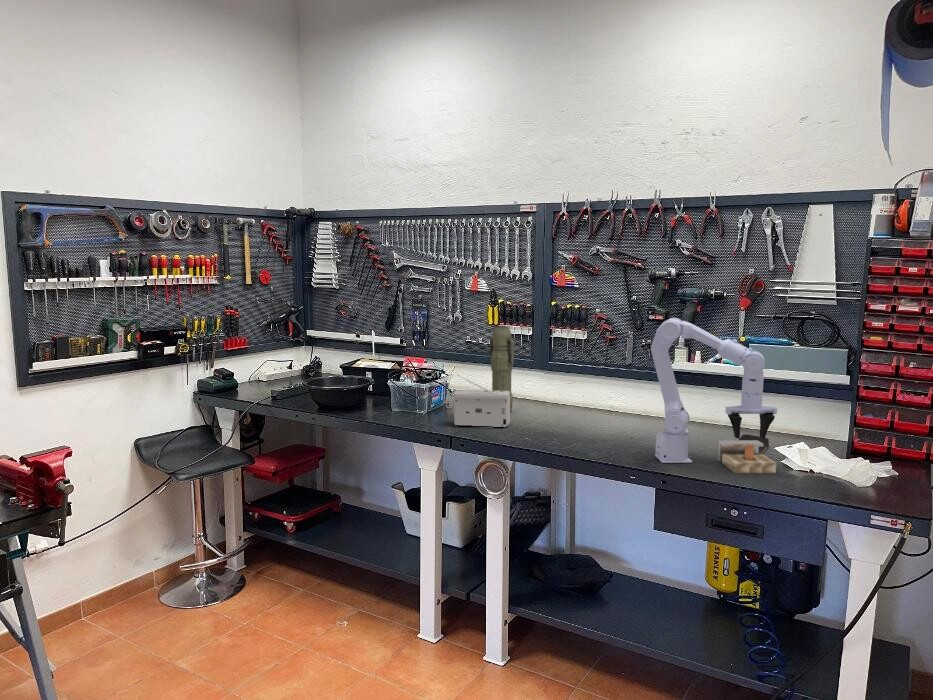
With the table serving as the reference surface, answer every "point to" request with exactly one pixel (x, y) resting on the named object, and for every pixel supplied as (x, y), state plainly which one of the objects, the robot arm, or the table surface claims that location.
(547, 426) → the table surface
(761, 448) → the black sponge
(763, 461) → the socket block
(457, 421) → the stereo radio cassette player
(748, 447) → the peg
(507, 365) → the olive green jumpsuit
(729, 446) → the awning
